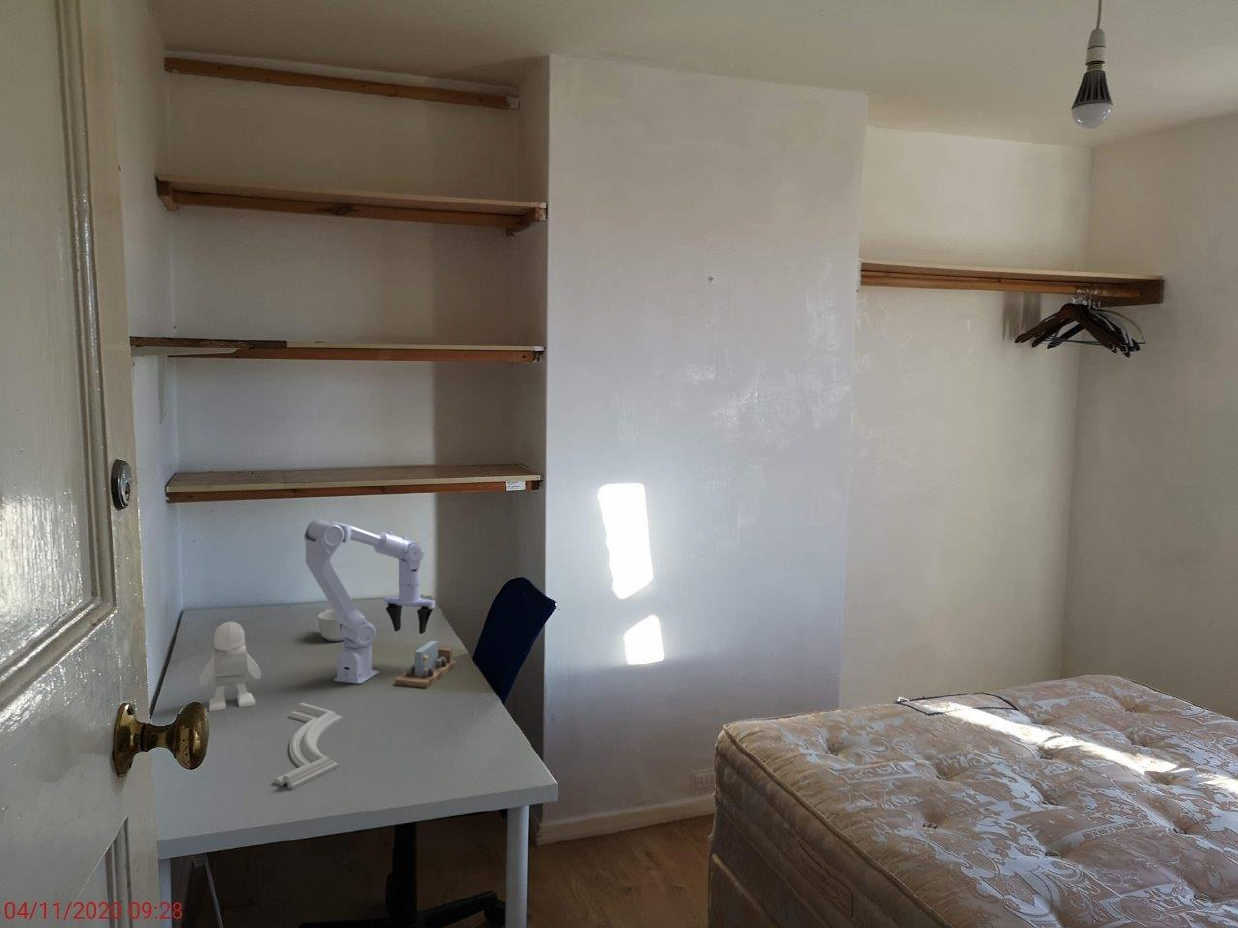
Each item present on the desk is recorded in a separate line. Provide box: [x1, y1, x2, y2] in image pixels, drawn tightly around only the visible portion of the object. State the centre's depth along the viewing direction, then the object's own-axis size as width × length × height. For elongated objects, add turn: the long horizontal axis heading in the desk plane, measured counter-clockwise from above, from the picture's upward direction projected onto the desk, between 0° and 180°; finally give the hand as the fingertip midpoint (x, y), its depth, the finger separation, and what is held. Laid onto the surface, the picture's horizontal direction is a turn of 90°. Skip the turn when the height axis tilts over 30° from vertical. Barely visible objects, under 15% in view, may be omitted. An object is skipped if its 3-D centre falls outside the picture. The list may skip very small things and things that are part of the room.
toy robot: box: [198, 621, 262, 712], centre depth 215 cm, size 14×9×20 cm, turn 117°
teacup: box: [317, 608, 344, 642], centre depth 270 cm, size 14×11×8 cm
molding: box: [273, 702, 343, 790], centre depth 192 cm, size 42×12×3 cm, turn 16°
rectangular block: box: [414, 640, 439, 676], centre depth 236 cm, size 10×3×6 cm, turn 166°
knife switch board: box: [394, 646, 457, 689], centre depth 237 cm, size 18×9×5 cm, turn 166°
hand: (409, 631), depth 245 cm, fingers open, 7 cm apart
